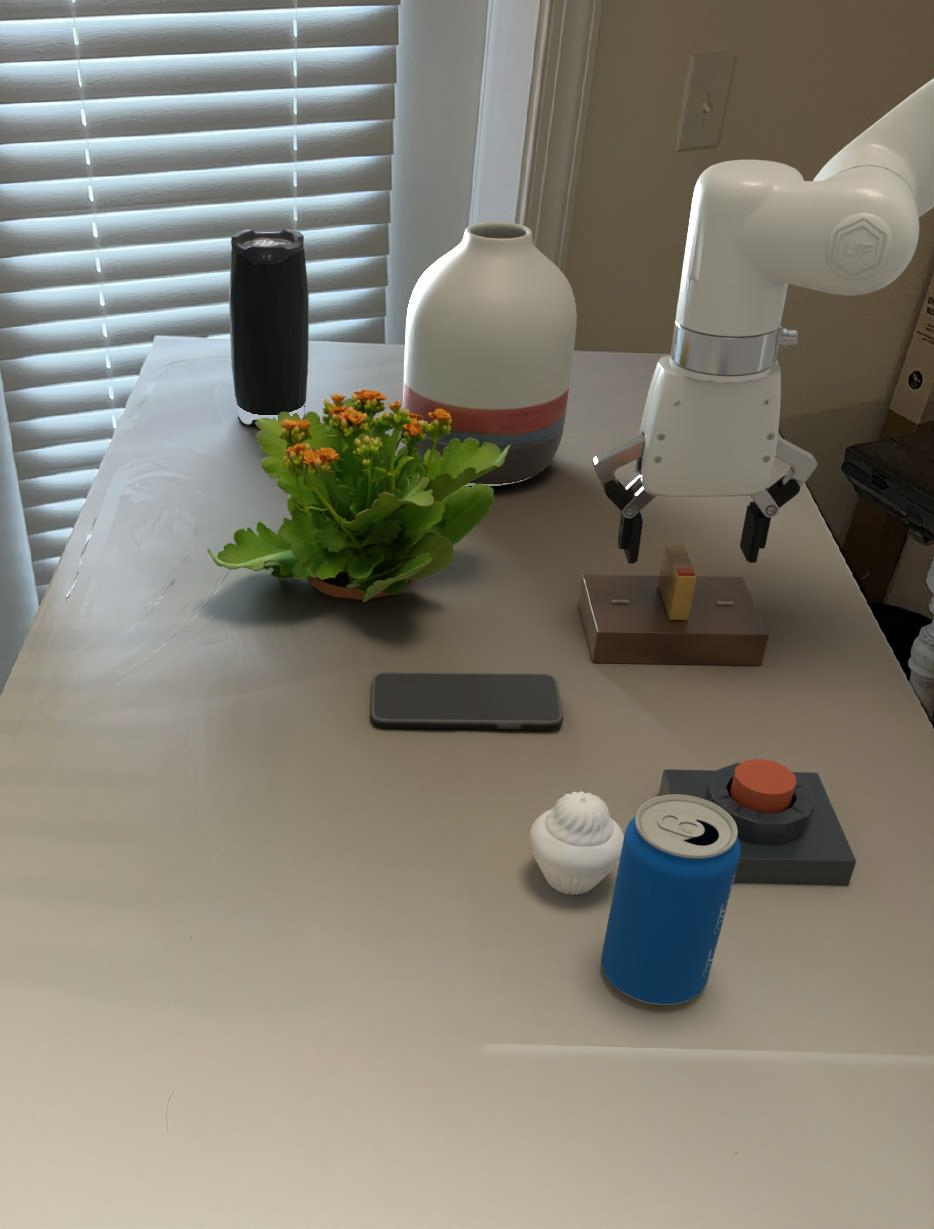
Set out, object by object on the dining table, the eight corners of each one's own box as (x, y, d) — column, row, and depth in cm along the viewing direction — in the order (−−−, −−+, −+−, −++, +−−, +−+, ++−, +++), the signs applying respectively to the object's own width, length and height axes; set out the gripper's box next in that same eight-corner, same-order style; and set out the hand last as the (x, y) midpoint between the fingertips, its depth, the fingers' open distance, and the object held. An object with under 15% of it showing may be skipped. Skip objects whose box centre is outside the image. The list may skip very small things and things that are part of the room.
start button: (782, 779, 93) (788, 759, 92) (797, 815, 90) (803, 794, 89) (724, 778, 93) (729, 758, 92) (736, 814, 90) (742, 793, 89)
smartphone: (371, 670, 109) (556, 672, 108) (371, 680, 110) (555, 681, 109) (370, 721, 104) (565, 723, 103) (370, 730, 104) (564, 733, 103)
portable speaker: (309, 402, 157) (309, 224, 145) (306, 433, 150) (306, 249, 138) (236, 401, 158) (230, 224, 145) (230, 432, 150) (223, 248, 138)
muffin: (515, 897, 89) (525, 814, 84) (535, 843, 93) (546, 761, 89) (608, 919, 87) (624, 835, 83) (624, 862, 91) (640, 780, 87)
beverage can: (684, 1029, 79) (723, 875, 72) (583, 987, 82) (610, 835, 75) (720, 964, 84) (760, 812, 76) (622, 927, 86) (652, 777, 79)
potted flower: (281, 503, 136) (279, 327, 125) (513, 531, 131) (532, 351, 120) (200, 622, 117) (188, 428, 106) (467, 660, 112) (484, 461, 101)
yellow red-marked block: (657, 585, 116) (665, 540, 113) (676, 585, 116) (684, 540, 113) (668, 620, 111) (677, 574, 109) (688, 620, 111) (697, 574, 108)
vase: (377, 483, 140) (385, 243, 125) (429, 425, 152) (442, 200, 137) (535, 510, 134) (563, 263, 120) (575, 448, 147) (605, 217, 132)
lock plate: (736, 606, 119) (743, 574, 117) (761, 666, 111) (769, 632, 109) (578, 604, 120) (582, 572, 118) (592, 663, 112) (597, 629, 110)
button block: (810, 796, 97) (823, 751, 95) (848, 886, 89) (864, 840, 87) (658, 793, 98) (667, 748, 95) (682, 882, 90) (693, 836, 87)
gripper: (827, 328, 102) (783, 535, 113) (599, 331, 103) (577, 536, 114) (855, 362, 97) (806, 576, 107) (613, 365, 97) (588, 577, 108)
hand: (688, 555), depth 111 cm, fingers open, 9 cm apart
